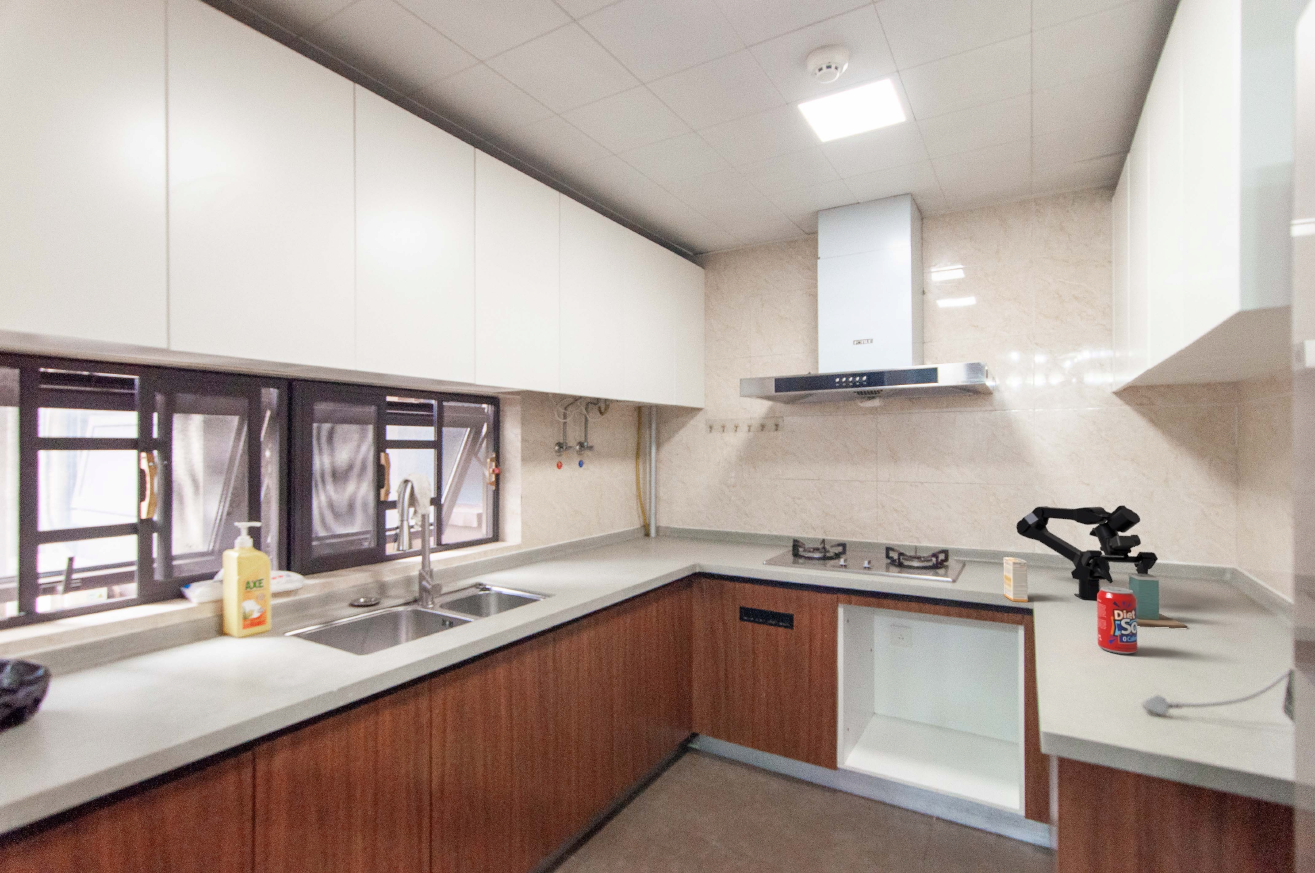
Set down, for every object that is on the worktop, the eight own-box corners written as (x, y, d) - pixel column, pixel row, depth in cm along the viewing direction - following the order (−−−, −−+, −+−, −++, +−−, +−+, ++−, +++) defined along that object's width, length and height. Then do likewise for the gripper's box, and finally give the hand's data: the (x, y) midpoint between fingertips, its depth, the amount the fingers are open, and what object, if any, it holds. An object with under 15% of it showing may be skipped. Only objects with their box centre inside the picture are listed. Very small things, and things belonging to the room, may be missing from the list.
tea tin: (1128, 614, 181) (1128, 573, 181) (1149, 615, 180) (1148, 573, 180) (1138, 619, 176) (1138, 576, 176) (1159, 620, 174) (1159, 577, 175)
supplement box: (1028, 602, 198) (1028, 561, 198) (1012, 601, 199) (1011, 560, 199) (1019, 596, 206) (1018, 556, 206) (1003, 595, 207) (1002, 556, 207)
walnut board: (1104, 614, 186) (1104, 609, 186) (1157, 617, 183) (1157, 612, 183) (1129, 628, 172) (1129, 622, 172) (1187, 631, 169) (1187, 625, 169)
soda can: (1098, 643, 157) (1098, 584, 157) (1138, 649, 152) (1137, 588, 152) (1096, 651, 151) (1095, 589, 151) (1136, 658, 146) (1136, 594, 146)
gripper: (1085, 524, 192) (1103, 566, 182) (1154, 525, 189) (1176, 569, 178) (1074, 545, 200) (1090, 587, 189) (1140, 547, 196) (1160, 590, 185)
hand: (1129, 583), depth 185 cm, fingers open, 9 cm apart
